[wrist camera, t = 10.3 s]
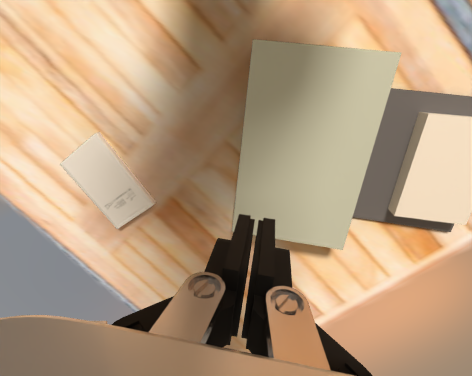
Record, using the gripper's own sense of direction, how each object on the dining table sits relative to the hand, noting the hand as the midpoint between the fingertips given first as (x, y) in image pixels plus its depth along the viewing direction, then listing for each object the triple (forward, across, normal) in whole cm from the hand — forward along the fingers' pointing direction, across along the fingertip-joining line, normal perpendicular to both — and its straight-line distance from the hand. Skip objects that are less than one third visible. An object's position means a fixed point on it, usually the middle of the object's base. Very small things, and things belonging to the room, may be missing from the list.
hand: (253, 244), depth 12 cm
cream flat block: (+21, -20, 0) cm, 29 cm away
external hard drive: (+24, +22, +9) cm, 34 cm away
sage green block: (+23, -4, 0) cm, 23 cm away
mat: (+23, -18, 0) cm, 29 cm away
